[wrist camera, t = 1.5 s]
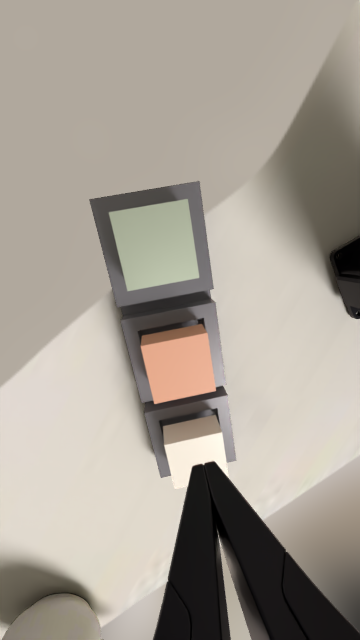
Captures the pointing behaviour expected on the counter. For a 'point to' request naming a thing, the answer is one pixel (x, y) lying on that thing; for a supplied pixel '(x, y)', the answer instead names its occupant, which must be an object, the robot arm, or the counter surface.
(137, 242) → the sage button
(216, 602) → the robot arm
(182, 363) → the terracotta button
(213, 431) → the cream button
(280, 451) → the counter surface
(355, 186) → the counter surface
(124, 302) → the button bank
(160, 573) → the counter surface
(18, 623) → the teacup
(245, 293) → the counter surface
